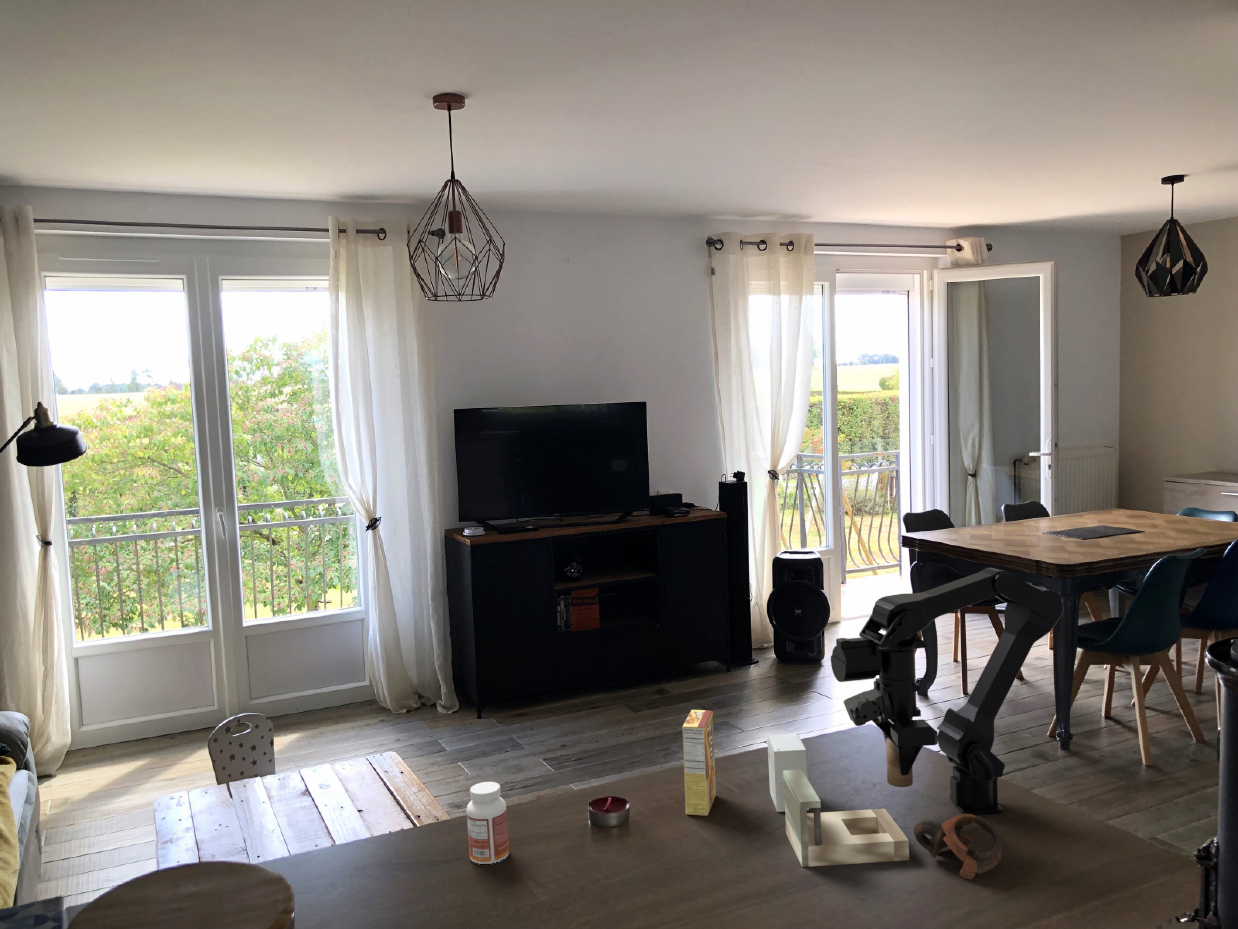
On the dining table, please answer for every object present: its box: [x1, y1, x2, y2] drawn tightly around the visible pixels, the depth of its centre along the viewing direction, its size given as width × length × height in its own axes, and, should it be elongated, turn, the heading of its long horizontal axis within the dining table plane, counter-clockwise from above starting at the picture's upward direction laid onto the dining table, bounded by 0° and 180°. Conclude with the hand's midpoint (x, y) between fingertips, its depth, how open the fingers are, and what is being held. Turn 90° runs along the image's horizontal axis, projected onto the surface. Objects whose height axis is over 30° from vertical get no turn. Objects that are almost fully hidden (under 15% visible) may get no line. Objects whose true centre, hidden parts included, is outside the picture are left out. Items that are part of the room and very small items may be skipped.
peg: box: [885, 738, 914, 788], centre depth 151 cm, size 4×4×7 cm
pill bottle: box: [466, 781, 510, 865], centre depth 144 cm, size 6×6×11 cm
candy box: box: [682, 709, 716, 817], centre depth 159 cm, size 9×4×15 cm, turn 166°
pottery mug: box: [913, 813, 1002, 881], centre depth 135 cm, size 12×10×8 cm
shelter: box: [783, 769, 910, 868], centre depth 142 cm, size 16×12×10 cm
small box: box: [766, 733, 810, 813], centre depth 158 cm, size 8×6×10 cm
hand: (899, 769), depth 151 cm, fingers closed on peg, 4 cm apart
